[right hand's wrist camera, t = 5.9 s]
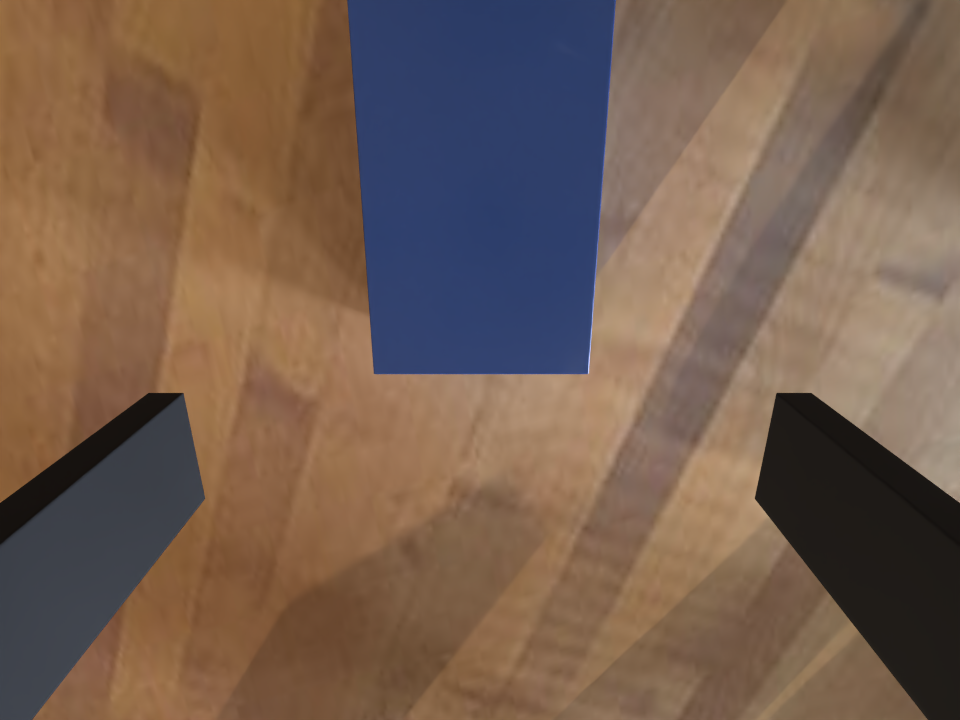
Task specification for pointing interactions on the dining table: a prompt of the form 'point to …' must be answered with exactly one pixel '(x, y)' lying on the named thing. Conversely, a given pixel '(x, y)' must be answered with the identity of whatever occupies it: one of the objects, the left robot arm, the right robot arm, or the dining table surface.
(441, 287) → the cabinet
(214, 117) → the dining table surface
